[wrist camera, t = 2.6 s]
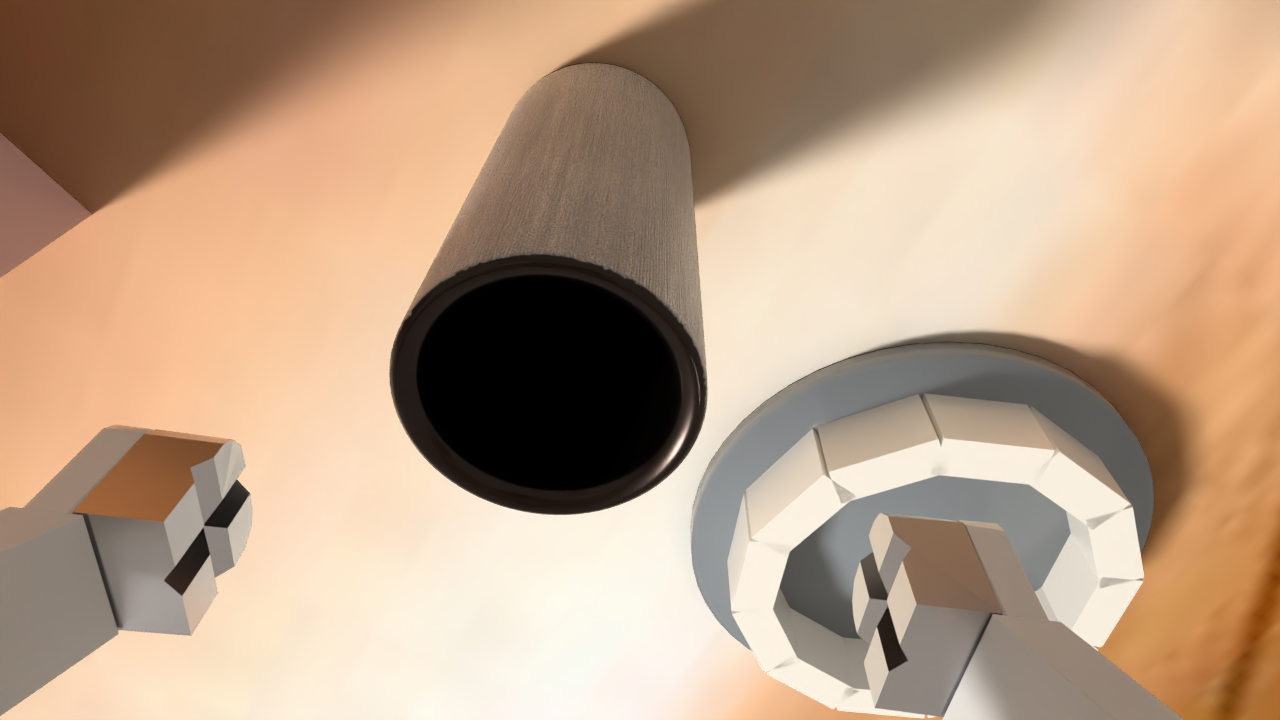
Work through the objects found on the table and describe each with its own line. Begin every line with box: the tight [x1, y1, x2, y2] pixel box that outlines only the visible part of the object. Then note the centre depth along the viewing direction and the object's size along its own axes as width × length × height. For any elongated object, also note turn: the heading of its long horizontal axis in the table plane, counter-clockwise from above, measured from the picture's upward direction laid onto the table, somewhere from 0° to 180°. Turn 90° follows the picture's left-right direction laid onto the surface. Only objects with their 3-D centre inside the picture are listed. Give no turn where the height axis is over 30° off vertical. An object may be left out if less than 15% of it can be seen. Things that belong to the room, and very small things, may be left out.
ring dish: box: [691, 342, 1154, 719], centre depth 26 cm, size 14×14×3 cm
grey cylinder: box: [390, 63, 707, 515], centre depth 16 cm, size 4×4×10 cm
